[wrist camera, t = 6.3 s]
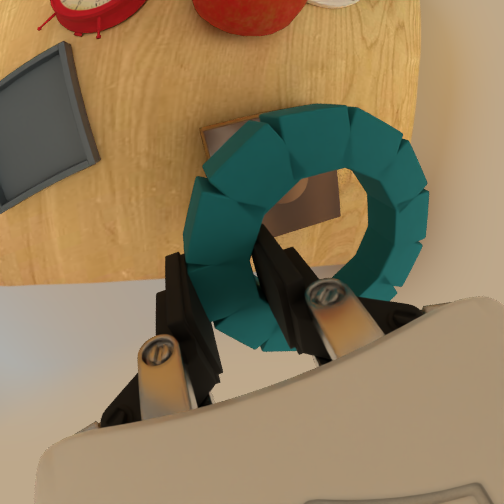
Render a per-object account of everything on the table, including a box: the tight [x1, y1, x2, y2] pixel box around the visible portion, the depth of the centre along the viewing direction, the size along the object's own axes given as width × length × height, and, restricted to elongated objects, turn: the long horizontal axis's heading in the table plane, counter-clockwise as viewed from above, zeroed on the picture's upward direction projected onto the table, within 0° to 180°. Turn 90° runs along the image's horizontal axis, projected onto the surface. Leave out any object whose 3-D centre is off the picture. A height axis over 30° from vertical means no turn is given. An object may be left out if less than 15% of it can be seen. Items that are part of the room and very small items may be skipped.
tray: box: [0, 41, 101, 214], centre depth 19 cm, size 13×13×2 cm
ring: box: [183, 104, 429, 352], centre depth 12 cm, size 11×11×2 cm
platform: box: [199, 109, 341, 237], centre depth 27 cm, size 12×12×5 cm
